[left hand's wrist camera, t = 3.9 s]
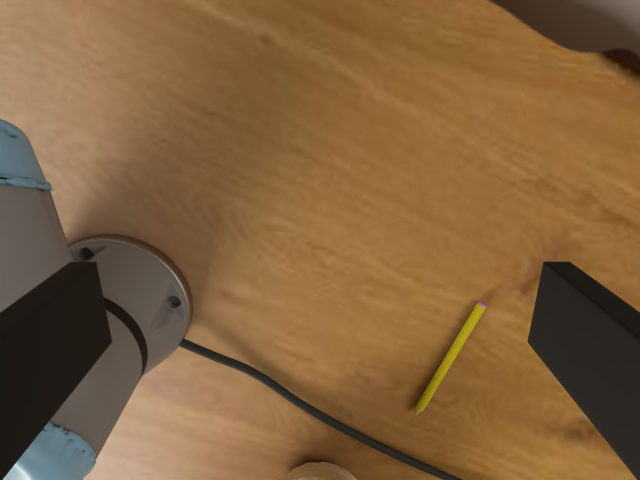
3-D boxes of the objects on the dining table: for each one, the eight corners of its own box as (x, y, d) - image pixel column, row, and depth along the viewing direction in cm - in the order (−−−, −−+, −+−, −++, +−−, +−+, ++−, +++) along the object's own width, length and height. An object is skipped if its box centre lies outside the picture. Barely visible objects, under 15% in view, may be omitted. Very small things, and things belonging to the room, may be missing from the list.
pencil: (476, 299, 47) (480, 304, 46) (484, 302, 47) (488, 307, 46) (410, 412, 52) (412, 418, 51) (417, 414, 52) (419, 420, 51)
